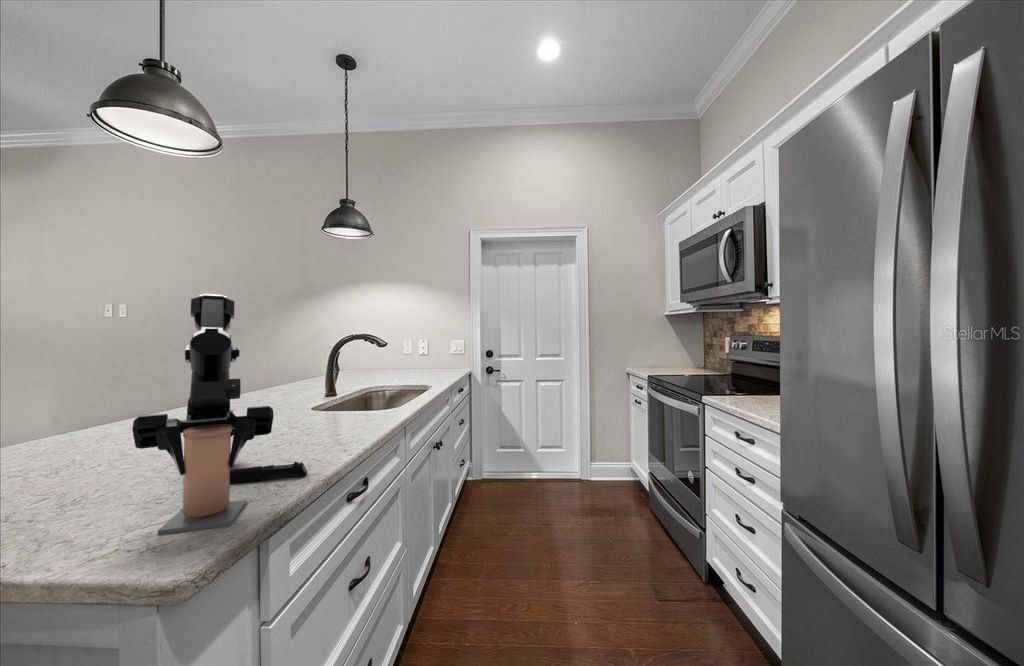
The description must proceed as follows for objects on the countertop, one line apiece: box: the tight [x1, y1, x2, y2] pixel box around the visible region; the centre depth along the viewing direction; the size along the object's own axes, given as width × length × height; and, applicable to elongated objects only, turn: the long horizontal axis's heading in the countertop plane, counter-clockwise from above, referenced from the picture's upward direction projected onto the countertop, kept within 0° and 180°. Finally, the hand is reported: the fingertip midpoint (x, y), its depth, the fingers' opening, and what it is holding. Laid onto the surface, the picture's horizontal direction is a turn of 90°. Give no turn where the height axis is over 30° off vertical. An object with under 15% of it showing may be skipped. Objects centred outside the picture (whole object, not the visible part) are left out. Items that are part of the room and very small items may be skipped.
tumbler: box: [182, 424, 232, 517], centre depth 65 cm, size 6×6×13 cm
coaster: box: [157, 499, 248, 535], centre depth 65 cm, size 9×9×1 cm
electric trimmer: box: [230, 461, 308, 483], centre depth 83 cm, size 4×16×3 cm, turn 113°
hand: (207, 470), depth 64 cm, fingers closed on tumbler, 6 cm apart
